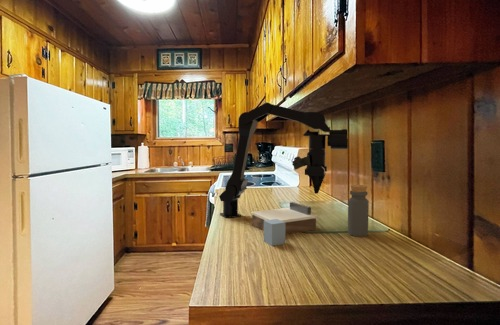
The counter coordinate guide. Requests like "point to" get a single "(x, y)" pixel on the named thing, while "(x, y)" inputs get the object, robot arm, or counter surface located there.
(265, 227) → the blue gray block
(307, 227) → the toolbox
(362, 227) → the bottle
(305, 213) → the lid
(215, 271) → the counter surface
